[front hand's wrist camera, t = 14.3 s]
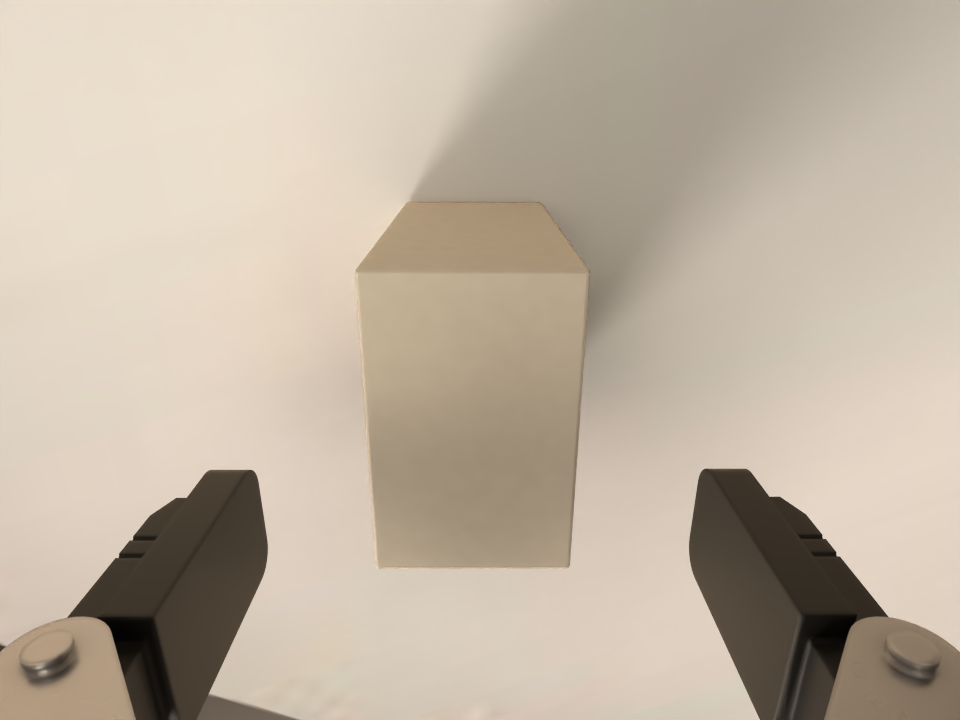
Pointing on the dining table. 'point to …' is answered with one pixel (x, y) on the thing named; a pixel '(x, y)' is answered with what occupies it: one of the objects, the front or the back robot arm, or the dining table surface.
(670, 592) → the dining table surface
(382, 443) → the brick
